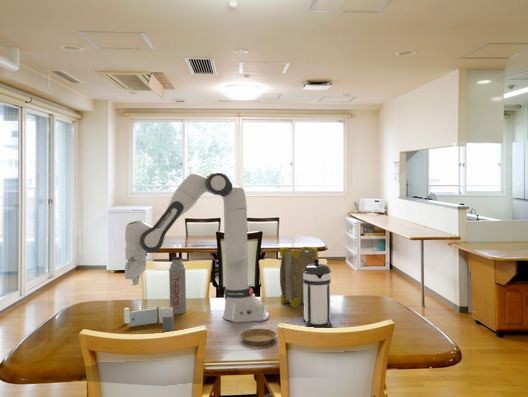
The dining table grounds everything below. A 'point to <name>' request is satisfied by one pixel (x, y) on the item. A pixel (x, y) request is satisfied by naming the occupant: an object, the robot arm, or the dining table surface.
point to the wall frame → (160, 311)
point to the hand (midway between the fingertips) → (135, 284)
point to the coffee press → (317, 294)
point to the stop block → (168, 322)
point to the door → (143, 317)
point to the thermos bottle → (177, 286)
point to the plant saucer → (258, 336)
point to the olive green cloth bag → (294, 273)
